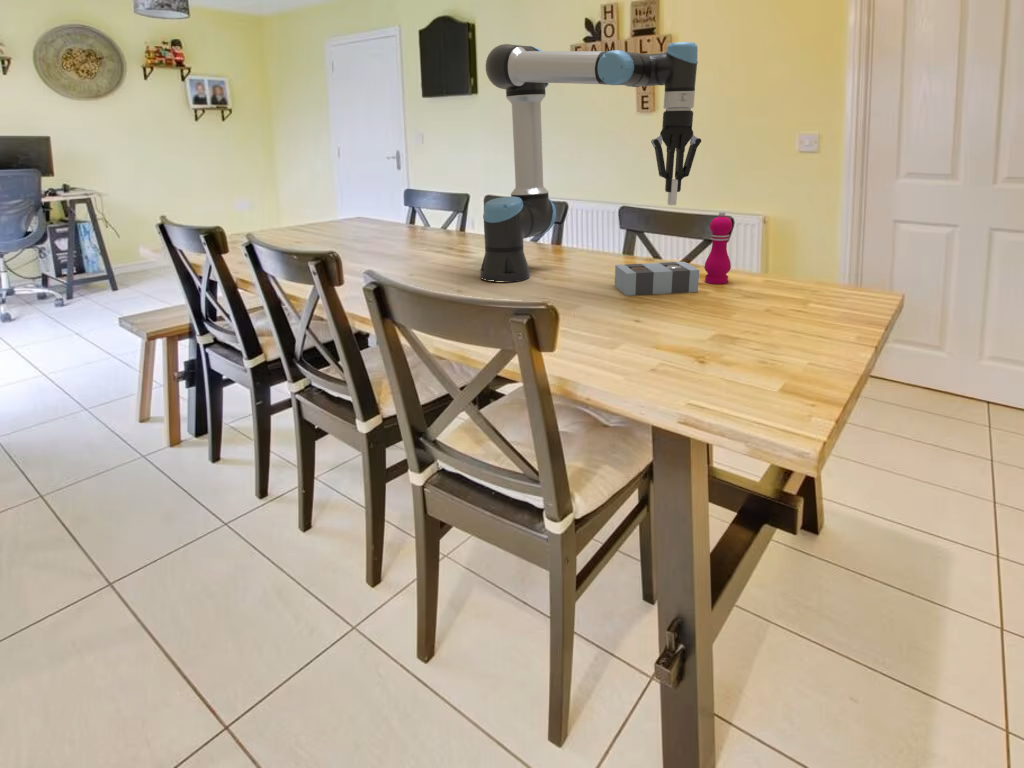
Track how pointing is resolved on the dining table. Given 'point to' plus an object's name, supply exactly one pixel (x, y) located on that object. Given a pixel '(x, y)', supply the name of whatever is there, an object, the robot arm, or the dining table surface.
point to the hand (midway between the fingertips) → (671, 204)
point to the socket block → (656, 278)
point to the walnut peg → (638, 268)
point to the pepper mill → (718, 251)
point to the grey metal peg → (673, 266)
